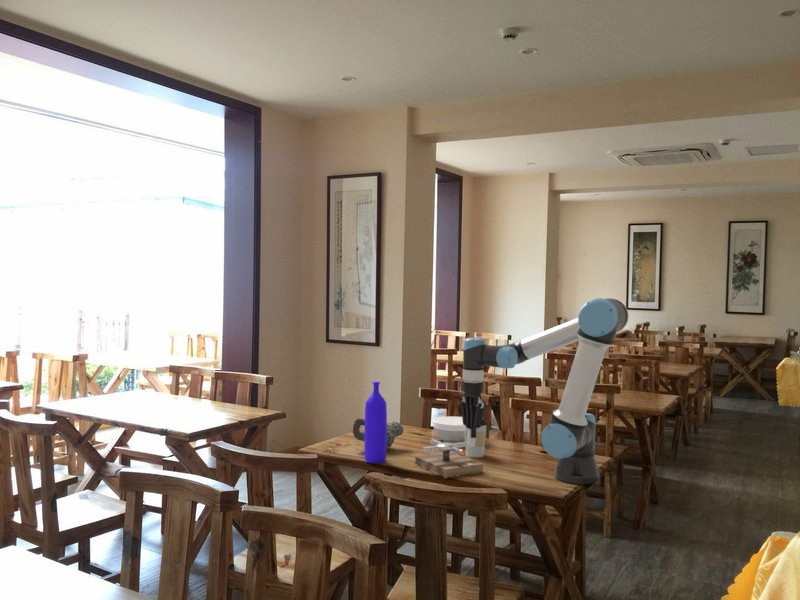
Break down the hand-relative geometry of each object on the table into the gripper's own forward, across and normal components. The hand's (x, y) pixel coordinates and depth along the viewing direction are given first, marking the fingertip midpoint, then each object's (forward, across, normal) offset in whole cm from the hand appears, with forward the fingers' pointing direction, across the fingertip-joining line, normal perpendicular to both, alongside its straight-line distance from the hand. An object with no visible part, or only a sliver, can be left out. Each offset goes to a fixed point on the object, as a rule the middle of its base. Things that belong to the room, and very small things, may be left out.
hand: (470, 446), depth 245 cm
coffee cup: (+9, +16, -14) cm, 24 cm away
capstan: (+2, +5, +7) cm, 9 cm away
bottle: (+10, +26, +25) cm, 38 cm away
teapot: (+10, +42, +15) cm, 46 cm away
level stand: (+9, +6, +6) cm, 12 cm away
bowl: (+9, +40, -21) cm, 47 cm away
